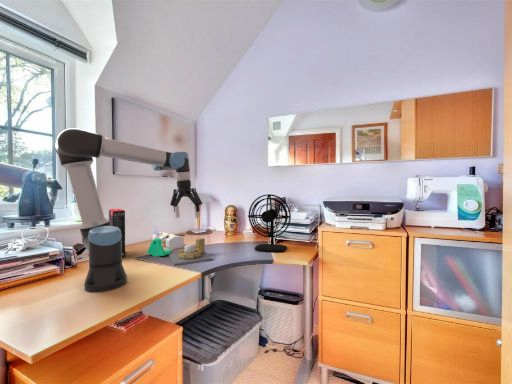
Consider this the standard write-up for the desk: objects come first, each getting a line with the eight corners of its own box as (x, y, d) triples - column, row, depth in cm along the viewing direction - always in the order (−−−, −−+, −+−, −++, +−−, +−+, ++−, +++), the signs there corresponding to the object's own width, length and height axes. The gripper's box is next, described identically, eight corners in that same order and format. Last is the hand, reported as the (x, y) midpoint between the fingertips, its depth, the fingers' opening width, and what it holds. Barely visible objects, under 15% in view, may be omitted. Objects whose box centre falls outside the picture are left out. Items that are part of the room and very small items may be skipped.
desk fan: (245, 251, 156) (244, 194, 155) (254, 245, 173) (253, 193, 172) (289, 254, 148) (288, 194, 147) (293, 247, 165) (293, 193, 164)
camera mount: (172, 254, 152) (172, 237, 152) (163, 257, 145) (163, 239, 145) (156, 252, 156) (156, 235, 156) (147, 255, 149) (146, 238, 149)
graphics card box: (108, 253, 155) (107, 208, 154) (121, 251, 159) (120, 208, 158) (113, 259, 141) (111, 210, 140) (126, 257, 145) (125, 210, 145)
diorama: (152, 244, 180) (152, 225, 180) (166, 241, 187) (165, 224, 187) (169, 250, 163) (169, 229, 162) (183, 247, 170) (183, 227, 170)
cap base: (212, 260, 138) (212, 247, 138) (174, 265, 130) (174, 251, 129) (203, 251, 156) (202, 240, 156) (169, 256, 148) (168, 244, 147)
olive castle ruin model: (189, 259, 135) (189, 244, 134) (174, 256, 141) (174, 242, 141) (210, 252, 149) (210, 239, 148) (196, 250, 155) (195, 237, 155)
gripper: (206, 178, 139) (209, 216, 141) (170, 180, 149) (174, 216, 151) (197, 179, 132) (201, 219, 134) (161, 181, 142) (165, 218, 144)
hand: (187, 217), depth 143 cm, fingers open, 13 cm apart
